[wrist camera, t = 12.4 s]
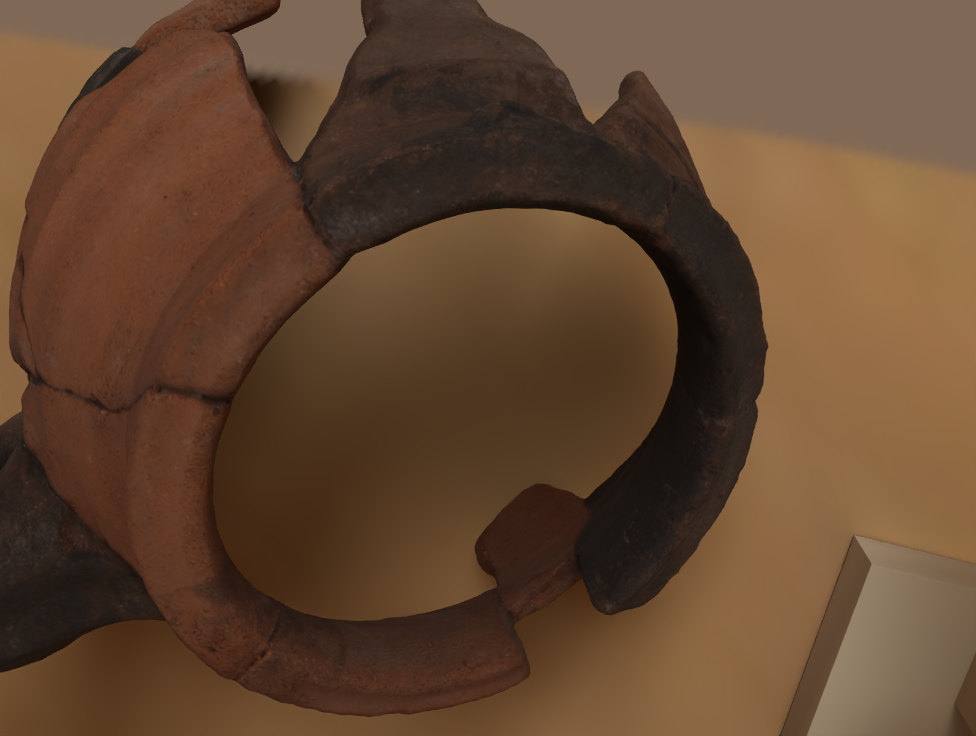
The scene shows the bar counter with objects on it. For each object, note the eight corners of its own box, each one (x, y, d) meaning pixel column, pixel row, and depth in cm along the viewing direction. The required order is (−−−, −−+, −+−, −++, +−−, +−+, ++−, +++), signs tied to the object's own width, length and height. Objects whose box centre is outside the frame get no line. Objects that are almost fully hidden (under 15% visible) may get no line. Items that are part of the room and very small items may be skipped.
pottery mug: (367, -194, 14) (638, -238, 7) (629, 256, 19) (920, 476, 12) (-265, 301, 14) (-610, 740, 7) (177, 608, 19) (224, 1017, 12)
